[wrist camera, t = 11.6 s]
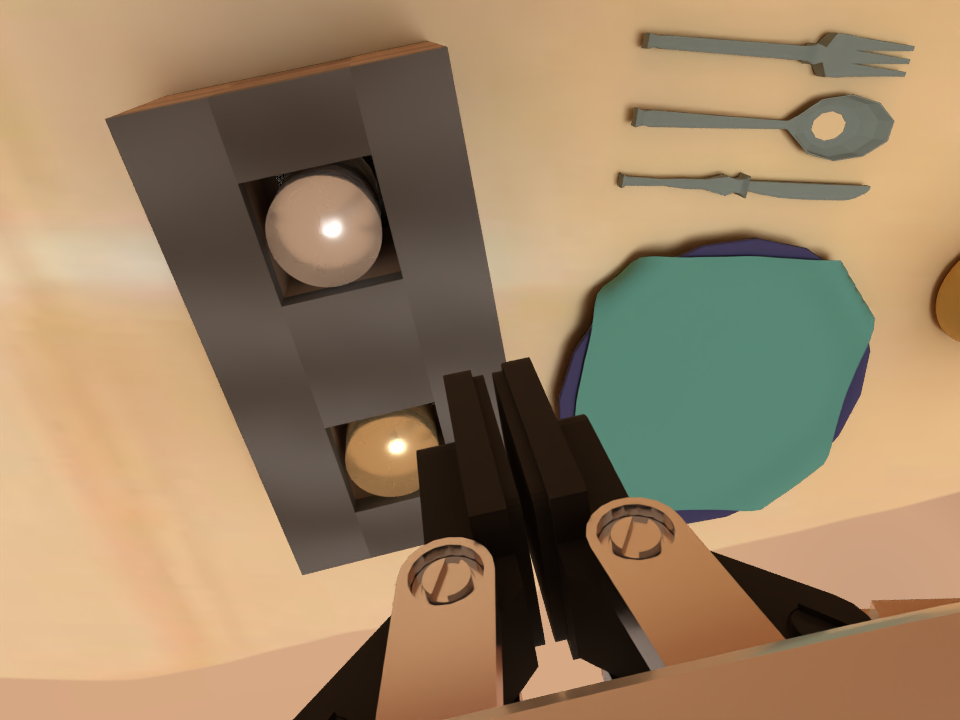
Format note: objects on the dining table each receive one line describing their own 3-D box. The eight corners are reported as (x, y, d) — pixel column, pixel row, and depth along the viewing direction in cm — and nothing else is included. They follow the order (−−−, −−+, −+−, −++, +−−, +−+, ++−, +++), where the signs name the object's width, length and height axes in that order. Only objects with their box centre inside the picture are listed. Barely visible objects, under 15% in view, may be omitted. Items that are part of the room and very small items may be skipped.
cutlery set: (533, 513, 45) (541, 536, 43) (600, 14, 31) (617, 13, 29) (798, 500, 48) (818, 521, 46) (962, 45, 35) (999, 46, 33)
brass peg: (338, 361, 36) (333, 431, 30) (418, 342, 36) (429, 408, 30) (360, 427, 38) (359, 506, 32) (435, 409, 38) (449, 484, 32)
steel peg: (271, 156, 30) (248, 189, 24) (365, 135, 31) (365, 164, 25) (301, 245, 33) (286, 298, 26) (388, 226, 33) (394, 273, 27)
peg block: (166, 96, 30) (105, 119, 23) (427, 40, 30) (447, 47, 23) (313, 477, 40) (302, 575, 33) (505, 430, 41) (534, 516, 34)
